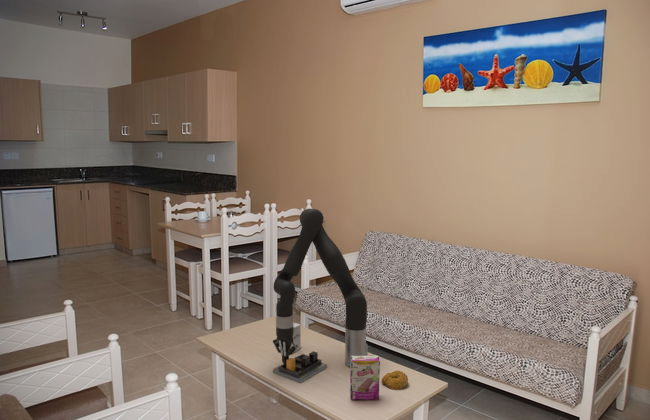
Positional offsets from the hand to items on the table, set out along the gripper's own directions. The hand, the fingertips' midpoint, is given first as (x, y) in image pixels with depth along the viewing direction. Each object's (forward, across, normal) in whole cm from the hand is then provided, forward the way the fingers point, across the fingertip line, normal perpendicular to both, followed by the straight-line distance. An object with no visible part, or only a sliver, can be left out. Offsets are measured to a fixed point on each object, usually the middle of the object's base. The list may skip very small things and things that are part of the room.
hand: (285, 363), depth 215 cm
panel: (+4, -4, -5) cm, 8 cm away
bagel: (+5, -43, -19) cm, 47 cm away
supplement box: (+4, +14, -19) cm, 24 cm away
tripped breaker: (+3, -3, 0) cm, 4 cm away
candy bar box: (+4, -39, -3) cm, 40 cm away
